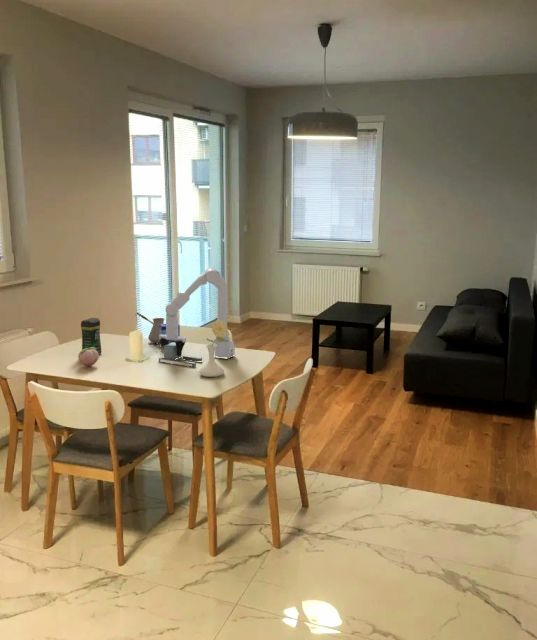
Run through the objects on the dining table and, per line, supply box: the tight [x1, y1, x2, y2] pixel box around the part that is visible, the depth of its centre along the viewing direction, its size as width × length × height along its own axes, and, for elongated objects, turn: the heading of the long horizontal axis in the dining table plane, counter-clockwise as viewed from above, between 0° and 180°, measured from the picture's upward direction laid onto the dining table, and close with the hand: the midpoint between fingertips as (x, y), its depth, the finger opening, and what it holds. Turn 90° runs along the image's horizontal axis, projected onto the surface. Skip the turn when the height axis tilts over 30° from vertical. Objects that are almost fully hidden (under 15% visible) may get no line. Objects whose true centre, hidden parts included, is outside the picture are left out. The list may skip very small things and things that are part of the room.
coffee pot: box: [134, 312, 166, 344], centre depth 333 cm, size 21×12×15 cm, turn 61°
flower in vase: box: [198, 320, 229, 378], centre depth 272 cm, size 13×11×25 cm
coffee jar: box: [80, 317, 102, 355], centre depth 304 cm, size 10×8×19 cm
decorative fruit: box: [77, 347, 100, 368], centre depth 284 cm, size 9×8×10 cm
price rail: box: [158, 354, 203, 368], centre depth 294 cm, size 20×10×2 cm, turn 64°
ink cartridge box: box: [159, 323, 181, 349], centre depth 321 cm, size 10×6×14 cm, turn 115°
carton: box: [163, 342, 183, 360], centre depth 300 cm, size 5×8×7 cm, turn 154°
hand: (172, 354), depth 301 cm, fingers open, 7 cm apart
